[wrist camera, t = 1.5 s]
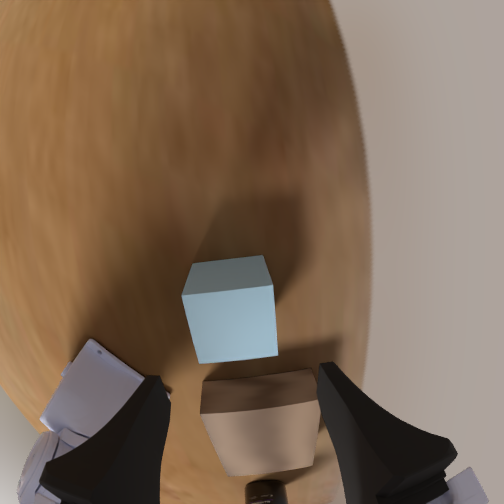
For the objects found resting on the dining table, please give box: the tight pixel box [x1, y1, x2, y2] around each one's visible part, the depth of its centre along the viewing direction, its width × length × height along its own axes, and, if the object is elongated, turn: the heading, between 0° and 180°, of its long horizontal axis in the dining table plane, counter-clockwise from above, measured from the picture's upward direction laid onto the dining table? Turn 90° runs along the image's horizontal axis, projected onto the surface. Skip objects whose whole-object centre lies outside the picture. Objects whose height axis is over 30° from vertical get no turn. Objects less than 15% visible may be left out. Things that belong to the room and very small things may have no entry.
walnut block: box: [200, 368, 321, 476], centre depth 23 cm, size 10×14×4 cm
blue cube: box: [181, 255, 278, 364], centre depth 18 cm, size 5×5×5 cm
